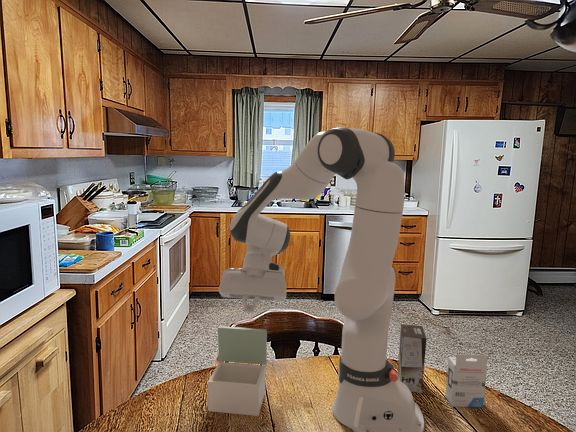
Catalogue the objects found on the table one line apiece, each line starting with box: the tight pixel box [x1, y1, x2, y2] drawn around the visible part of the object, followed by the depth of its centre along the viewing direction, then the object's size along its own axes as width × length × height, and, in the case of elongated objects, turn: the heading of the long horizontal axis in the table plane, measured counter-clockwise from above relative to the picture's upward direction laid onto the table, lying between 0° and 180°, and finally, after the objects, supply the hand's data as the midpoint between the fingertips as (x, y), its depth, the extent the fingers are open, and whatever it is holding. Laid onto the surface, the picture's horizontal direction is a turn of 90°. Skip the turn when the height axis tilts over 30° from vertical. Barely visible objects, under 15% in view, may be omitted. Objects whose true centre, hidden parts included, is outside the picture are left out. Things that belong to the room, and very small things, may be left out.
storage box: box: [207, 361, 267, 417], centre depth 105 cm, size 13×10×8 cm
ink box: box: [444, 354, 488, 408], centre depth 107 cm, size 8×5×15 cm, turn 89°
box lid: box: [217, 325, 268, 366], centre depth 109 cm, size 13×10×1 cm
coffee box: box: [397, 324, 428, 394], centre depth 115 cm, size 9×6×16 cm
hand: (249, 311), depth 116 cm, fingers closed
